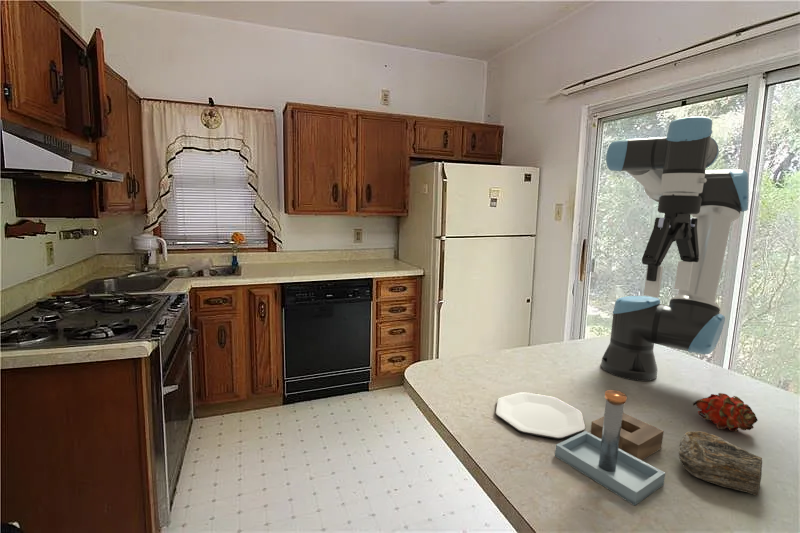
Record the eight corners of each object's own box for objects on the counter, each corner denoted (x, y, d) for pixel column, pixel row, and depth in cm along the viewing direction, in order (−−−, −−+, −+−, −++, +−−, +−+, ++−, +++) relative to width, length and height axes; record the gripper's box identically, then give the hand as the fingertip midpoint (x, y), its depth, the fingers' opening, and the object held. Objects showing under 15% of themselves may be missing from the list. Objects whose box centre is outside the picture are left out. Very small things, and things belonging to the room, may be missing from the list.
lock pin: (593, 464, 81) (601, 392, 78) (603, 458, 83) (612, 388, 80) (610, 475, 78) (620, 400, 75) (621, 468, 80) (630, 395, 77)
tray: (554, 456, 84) (555, 444, 84) (584, 441, 89) (585, 430, 89) (634, 505, 71) (636, 492, 70) (663, 485, 76) (665, 472, 76)
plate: (539, 451, 86) (540, 444, 86) (479, 408, 103) (480, 402, 103) (602, 428, 95) (602, 422, 95) (537, 392, 113) (537, 387, 112)
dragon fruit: (758, 447, 92) (693, 431, 101) (762, 415, 96) (700, 402, 105) (753, 424, 88) (686, 410, 97) (758, 392, 93) (694, 381, 102)
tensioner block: (589, 438, 91) (591, 421, 90) (615, 426, 96) (617, 410, 95) (636, 463, 82) (638, 445, 82) (661, 448, 88) (663, 430, 87)
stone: (662, 454, 80) (687, 411, 82) (672, 471, 86) (695, 431, 88) (747, 503, 69) (774, 452, 71) (751, 518, 75) (776, 471, 77)
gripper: (671, 193, 78) (656, 303, 81) (726, 196, 91) (711, 290, 95) (631, 192, 84) (619, 295, 88) (687, 196, 98) (675, 284, 101)
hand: (667, 292), depth 91 cm, fingers open, 13 cm apart
